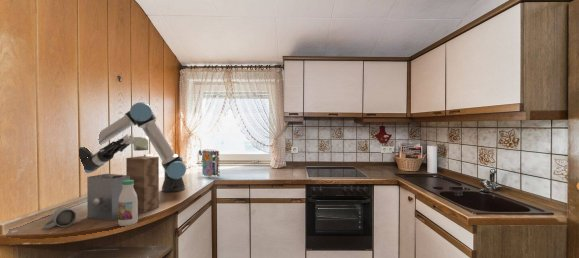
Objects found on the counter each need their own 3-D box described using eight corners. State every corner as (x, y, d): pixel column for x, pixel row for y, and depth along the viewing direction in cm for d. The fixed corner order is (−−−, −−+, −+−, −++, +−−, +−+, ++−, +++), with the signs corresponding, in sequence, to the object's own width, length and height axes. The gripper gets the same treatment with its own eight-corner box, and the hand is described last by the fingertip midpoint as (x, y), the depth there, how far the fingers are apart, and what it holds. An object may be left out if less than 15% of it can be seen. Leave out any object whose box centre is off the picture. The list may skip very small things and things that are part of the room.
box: (195, 176, 248) (195, 149, 247) (201, 175, 253) (201, 148, 252) (214, 179, 233) (214, 150, 233) (219, 178, 238) (219, 150, 238)
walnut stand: (141, 205, 157) (141, 156, 157) (158, 207, 154) (158, 156, 153) (126, 210, 148) (126, 157, 148) (144, 212, 144) (144, 158, 144)
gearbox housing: (106, 211, 146) (106, 172, 145) (130, 214, 141) (129, 174, 140) (83, 218, 134) (83, 176, 134) (108, 222, 129) (107, 178, 129)
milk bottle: (128, 219, 133) (128, 178, 133) (141, 221, 131) (141, 179, 130) (114, 225, 125) (114, 181, 125) (127, 227, 123) (127, 182, 123)
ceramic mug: (70, 220, 132) (70, 204, 132) (76, 224, 127) (76, 207, 127) (41, 227, 123) (40, 210, 123) (46, 231, 118) (46, 213, 118)
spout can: (125, 148, 159) (125, 136, 159) (151, 149, 153) (151, 137, 153) (114, 149, 152) (114, 137, 152) (140, 150, 146) (140, 137, 146)
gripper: (117, 160, 166) (144, 141, 160) (92, 163, 152) (120, 143, 145) (113, 149, 167) (139, 130, 161) (87, 151, 153) (115, 130, 146)
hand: (130, 136), depth 153 cm, fingers closed on spout can, 2 cm apart
